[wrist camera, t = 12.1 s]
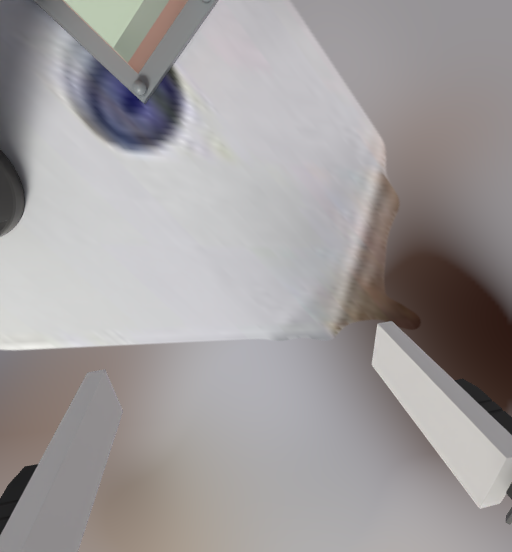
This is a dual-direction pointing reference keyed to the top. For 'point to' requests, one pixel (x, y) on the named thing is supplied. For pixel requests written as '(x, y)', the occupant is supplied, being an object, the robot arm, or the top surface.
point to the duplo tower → (132, 34)
